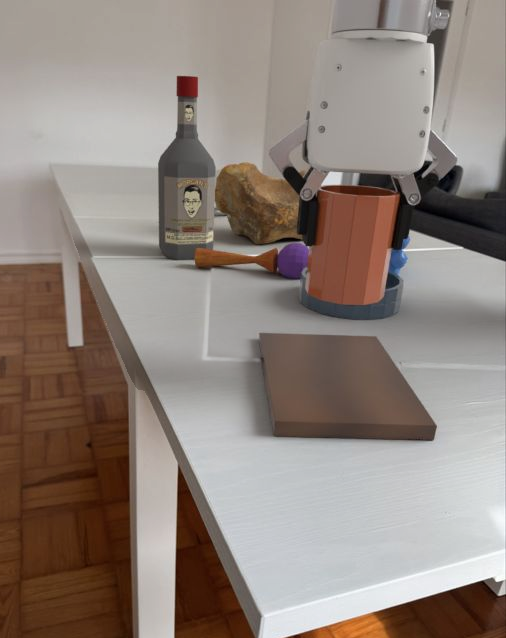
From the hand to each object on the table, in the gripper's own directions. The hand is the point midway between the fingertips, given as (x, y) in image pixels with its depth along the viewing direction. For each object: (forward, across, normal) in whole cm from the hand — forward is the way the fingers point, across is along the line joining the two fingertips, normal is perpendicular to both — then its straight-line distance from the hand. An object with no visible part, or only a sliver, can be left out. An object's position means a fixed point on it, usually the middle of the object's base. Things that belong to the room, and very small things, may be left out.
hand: (350, 243), depth 51 cm
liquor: (+15, +18, -52) cm, 57 cm away
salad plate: (+15, +14, -100) cm, 102 cm away
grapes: (+15, -16, -42) cm, 47 cm away
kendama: (+15, +6, -40) cm, 43 cm away
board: (+15, 0, 0) cm, 15 cm away
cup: (+5, 0, 0) cm, 5 cm away
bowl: (+15, -7, -25) cm, 30 cm away
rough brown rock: (+15, +1, -67) cm, 69 cm away
